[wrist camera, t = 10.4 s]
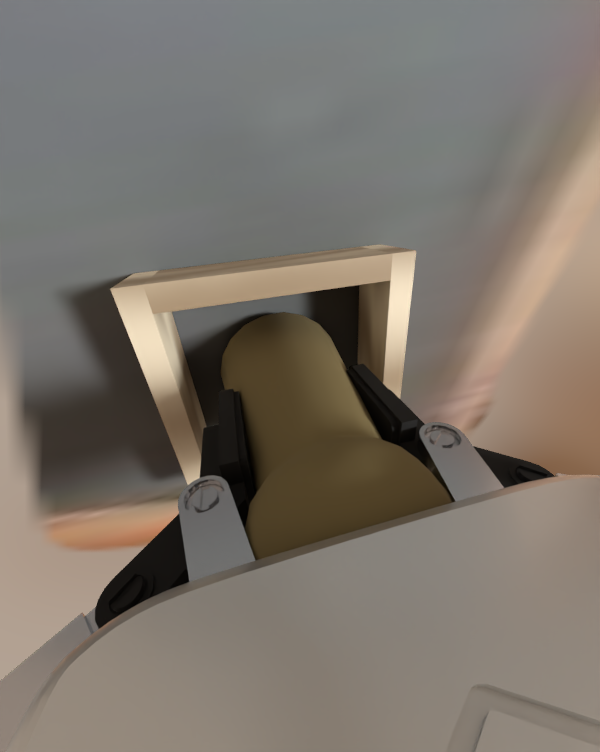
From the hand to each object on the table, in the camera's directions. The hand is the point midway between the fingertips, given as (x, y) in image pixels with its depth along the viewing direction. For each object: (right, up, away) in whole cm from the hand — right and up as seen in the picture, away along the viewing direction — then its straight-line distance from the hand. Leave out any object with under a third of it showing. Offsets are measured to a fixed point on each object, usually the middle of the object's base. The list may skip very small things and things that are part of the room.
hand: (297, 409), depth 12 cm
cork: (-1, +2, +3) cm, 4 cm away
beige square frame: (-1, +2, +4) cm, 4 cm away
